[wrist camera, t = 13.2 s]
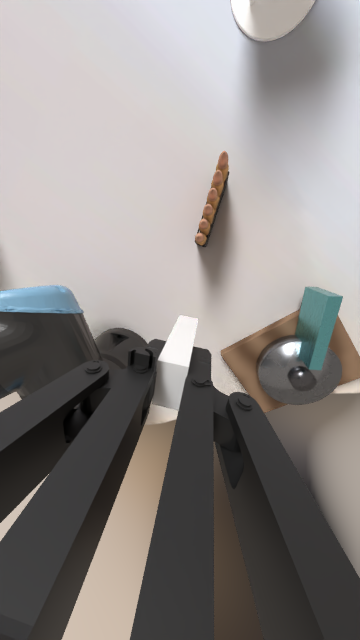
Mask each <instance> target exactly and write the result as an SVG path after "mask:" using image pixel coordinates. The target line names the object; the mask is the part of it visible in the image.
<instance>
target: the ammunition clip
mask: <svg viewBox="0 0 360 640" xmlns="http://www.w3.org/2000/svg"><path fill="white" fill-rule="evenodd" d="M228 167H229V166H228V155H227V152H226V151H223V152H222V153H221V154H220V156H219V160H218V164H217V167H216V172H215V174H214V176H213V181H212V183H211V189H210V190H209V193H208V197H207V203H206V205H205V207H204V210H203V216H202V219H201V221H200V223H199V229H198V232H197V234H196V236H195V243H196V244H197V245H200V246H203V247H206V245H207V242H208V239H209V236H210V233H211V230H212V227H213V224H214V221H215V218H216V215H217V212H218V209H219V206H220V203H221V200H222V197H223V193H224V190H225V187H226V184H227V181H228V176H229V171H228ZM203 217H204V219H203ZM199 230H200V233H199Z"/></svg>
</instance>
